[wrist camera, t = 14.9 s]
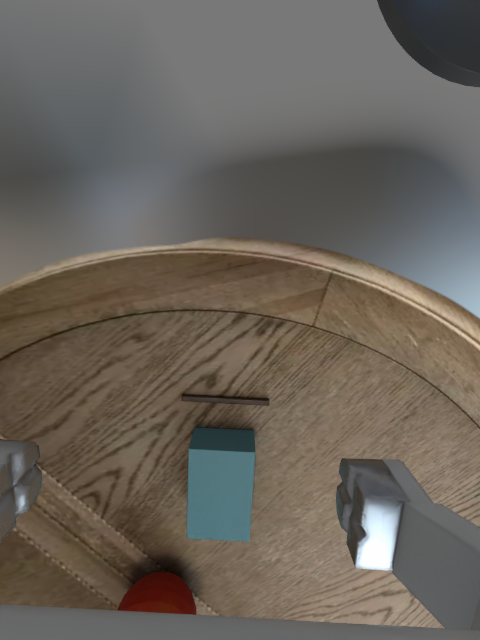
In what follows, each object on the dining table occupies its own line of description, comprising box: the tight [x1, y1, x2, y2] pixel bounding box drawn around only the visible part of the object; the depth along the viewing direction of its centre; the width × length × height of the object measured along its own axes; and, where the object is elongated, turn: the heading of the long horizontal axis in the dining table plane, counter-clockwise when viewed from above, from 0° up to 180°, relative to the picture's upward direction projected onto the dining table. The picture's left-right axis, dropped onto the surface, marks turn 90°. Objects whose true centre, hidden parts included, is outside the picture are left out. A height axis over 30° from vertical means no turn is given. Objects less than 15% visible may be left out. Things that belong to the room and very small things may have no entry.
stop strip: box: [182, 394, 269, 406], centre depth 38 cm, size 1×10×1 cm, turn 87°
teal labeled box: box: [187, 427, 255, 542], centre depth 38 cm, size 11×7×4 cm, turn 177°
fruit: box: [118, 571, 196, 615], centre depth 39 cm, size 10×10×10 cm
